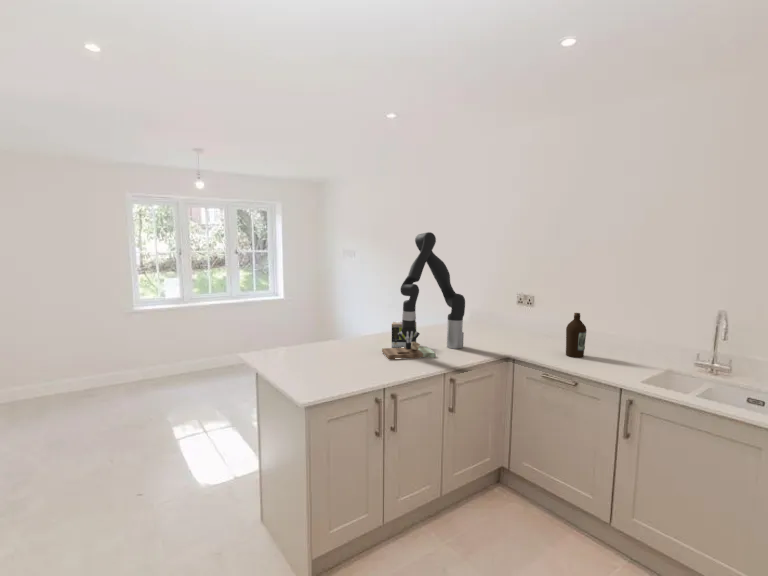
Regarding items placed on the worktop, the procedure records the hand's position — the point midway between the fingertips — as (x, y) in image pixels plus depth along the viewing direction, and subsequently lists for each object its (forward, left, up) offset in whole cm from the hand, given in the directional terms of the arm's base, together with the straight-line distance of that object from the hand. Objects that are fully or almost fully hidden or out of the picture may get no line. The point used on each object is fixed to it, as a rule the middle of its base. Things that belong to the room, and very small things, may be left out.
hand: (408, 348), depth 241 cm
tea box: (-4, -21, -4) cm, 21 cm away
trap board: (0, 0, -4) cm, 4 cm away
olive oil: (-95, +19, -4) cm, 97 cm away
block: (-3, -1, 0) cm, 3 cm away
